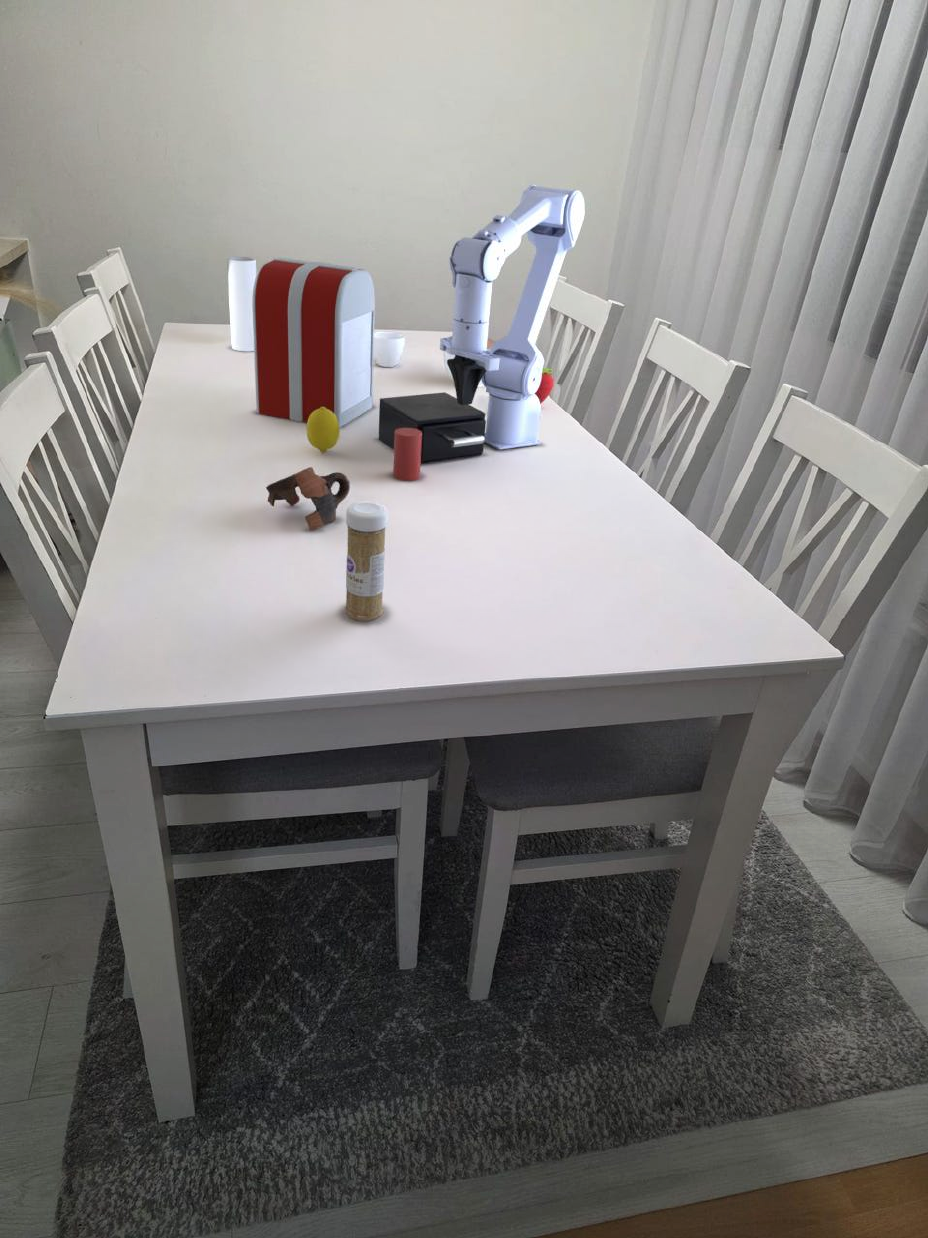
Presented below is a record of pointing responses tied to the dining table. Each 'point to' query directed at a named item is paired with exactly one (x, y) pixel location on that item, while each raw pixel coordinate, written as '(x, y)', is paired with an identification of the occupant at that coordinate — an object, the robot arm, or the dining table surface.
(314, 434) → the lemon
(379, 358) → the cup
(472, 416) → the warmer
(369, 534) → the sprinkles bottle
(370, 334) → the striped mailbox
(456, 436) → the tray drawer
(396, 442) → the spice tin
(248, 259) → the vase
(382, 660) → the dining table surface
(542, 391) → the strawberry
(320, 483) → the broken mug
